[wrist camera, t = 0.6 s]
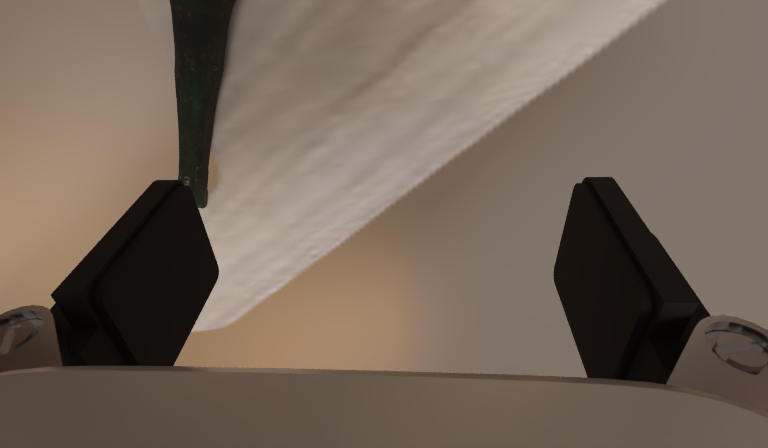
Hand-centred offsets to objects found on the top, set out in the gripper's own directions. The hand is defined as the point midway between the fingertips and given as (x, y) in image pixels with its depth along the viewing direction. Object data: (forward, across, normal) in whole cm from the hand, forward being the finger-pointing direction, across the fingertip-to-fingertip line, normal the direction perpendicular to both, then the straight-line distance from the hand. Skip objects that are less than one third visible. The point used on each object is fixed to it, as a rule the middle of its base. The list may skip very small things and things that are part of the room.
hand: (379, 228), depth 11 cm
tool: (+30, +17, +6) cm, 34 cm away
